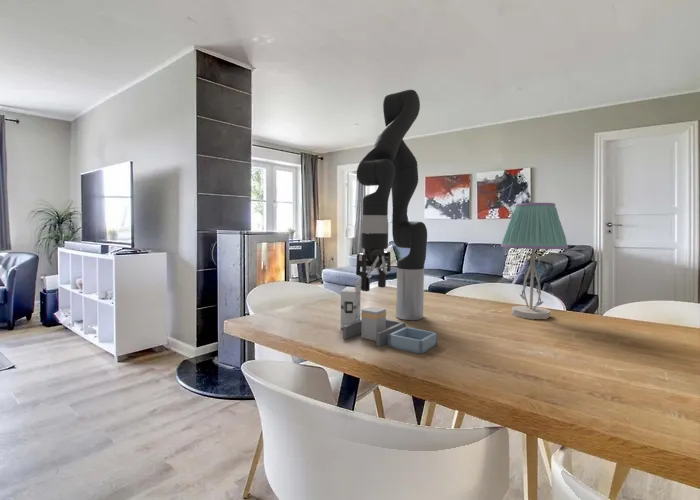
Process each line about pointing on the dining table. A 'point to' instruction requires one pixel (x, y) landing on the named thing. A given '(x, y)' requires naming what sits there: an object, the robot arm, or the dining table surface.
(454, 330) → the dining table surface
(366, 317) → the tan-banded grey block
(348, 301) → the ink box
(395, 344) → the tray
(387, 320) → the bay
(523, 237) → the table lamp
